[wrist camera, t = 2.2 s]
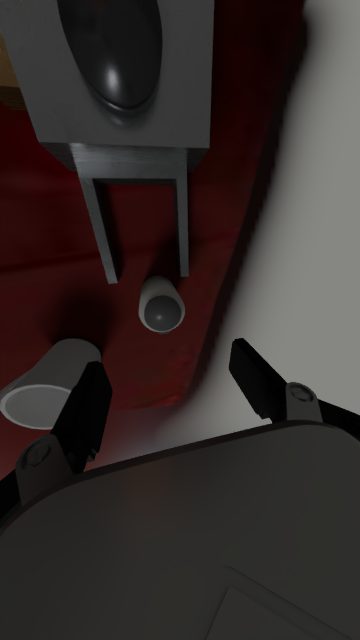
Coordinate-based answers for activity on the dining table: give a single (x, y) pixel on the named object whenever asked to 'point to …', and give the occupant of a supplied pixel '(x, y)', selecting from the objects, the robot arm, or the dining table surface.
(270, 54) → the dining table surface
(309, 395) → the robot arm
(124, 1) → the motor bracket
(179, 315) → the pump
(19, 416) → the mug
